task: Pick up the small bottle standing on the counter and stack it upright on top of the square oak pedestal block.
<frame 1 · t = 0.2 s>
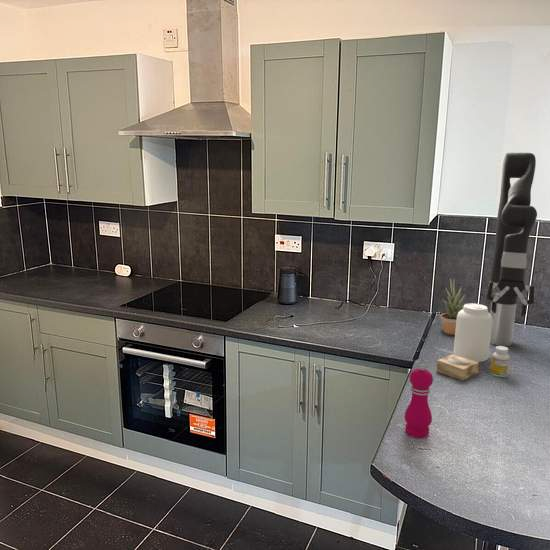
hand: (508, 314, 174), 22 cm above the counter, tool pointing down, fingers open, 8 cm apart
pepper mill: (416, 432, 142), on the counter
supplement bottle: (498, 374, 181), on the counter
white jar: (470, 356, 196), on the counter
pedestal: (457, 371, 182), on the counter
potted plant: (450, 332, 222), on the counter
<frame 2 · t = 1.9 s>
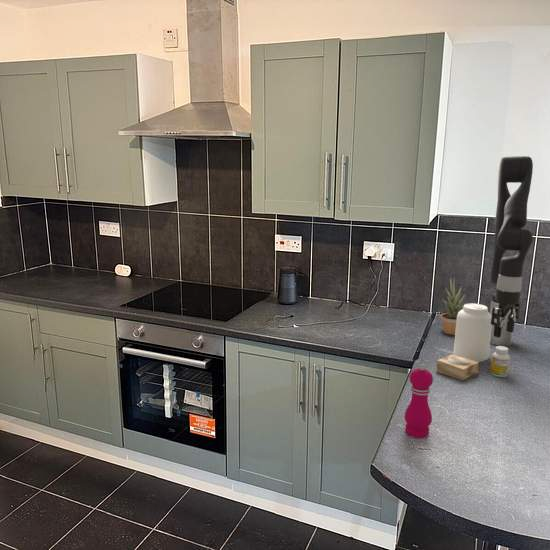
hand: (503, 334, 177), 15 cm above the counter, tool pointing down, fingers open, 8 cm apart
nothing on the counter moved.
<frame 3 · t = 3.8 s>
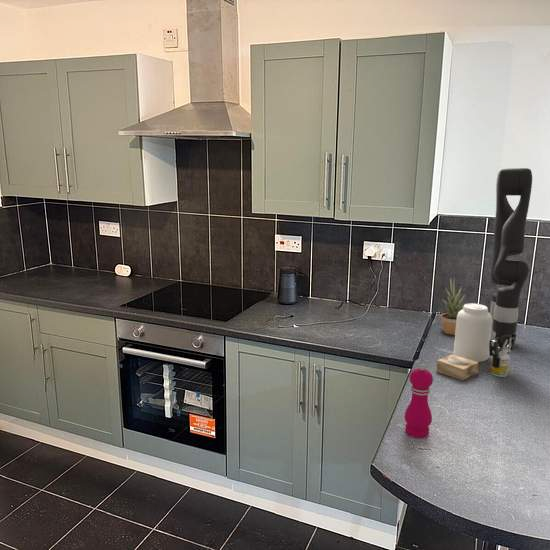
hand: (500, 364, 180), 3 cm above the counter, tool pointing down, fingers closed on supplement bottle, 5 cm apart
supplement bottle: (498, 374, 181), on the counter, touching gripper
everything else where it was.
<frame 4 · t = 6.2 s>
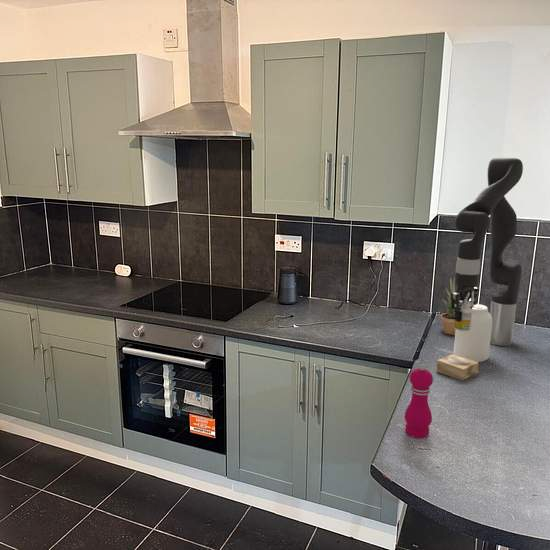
hand: (462, 319, 177), 19 cm above the counter, tool pointing down, fingers closed on supplement bottle, 5 cm apart
supplement bottle: (461, 329, 178), point 16 cm above the counter, touching gripper
everything else where it was.
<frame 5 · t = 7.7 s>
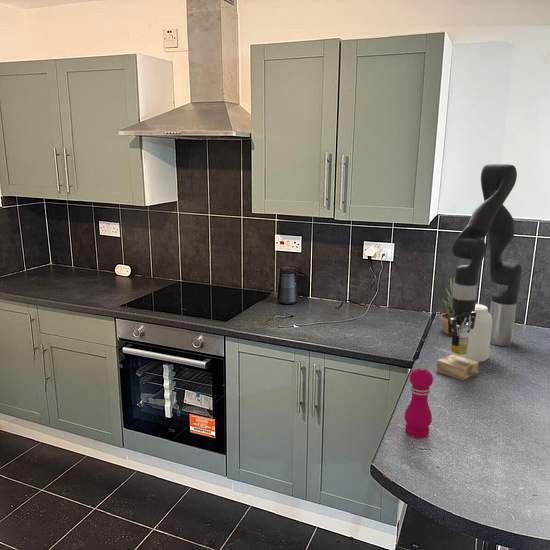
hand: (459, 343, 180), 11 cm above the counter, tool pointing down, fingers closed on supplement bottle, 5 cm apart
supplement bottle: (459, 353, 180), point 7 cm above the counter, touching gripper
everything else where it was.
when the fingers open (9 cm above the counter, at t = 8.9 s): supplement bottle drops 1 cm, resting on pedestal.
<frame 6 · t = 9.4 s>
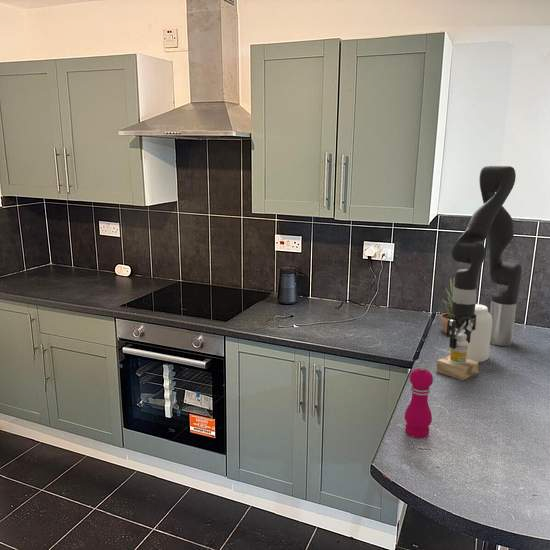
hand: (459, 345, 180), 10 cm above the counter, tool pointing down, fingers open, 8 cm apart
supplement bottle: (458, 361, 181), point 4 cm above the counter, touching pedestal
everything else where it was.
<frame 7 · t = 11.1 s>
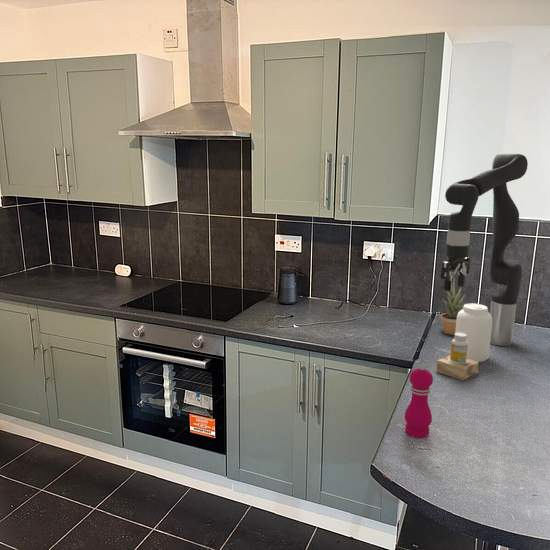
hand: (454, 288, 182), 28 cm above the counter, tool pointing down, fingers open, 8 cm apart
nothing on the counter moved.
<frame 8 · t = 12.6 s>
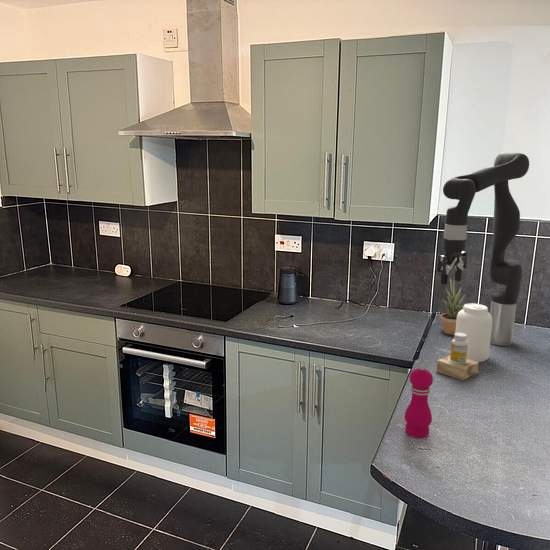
hand: (450, 282, 184), 30 cm above the counter, tool pointing down, fingers open, 8 cm apart
nothing on the counter moved.
at the end: supplement bottle inside the target area on the pedestal (0.0 cm from its centre), point 4.0 cm above the pedestal's base; supplement bottle tilted 0°; the gripper is holding nothing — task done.
